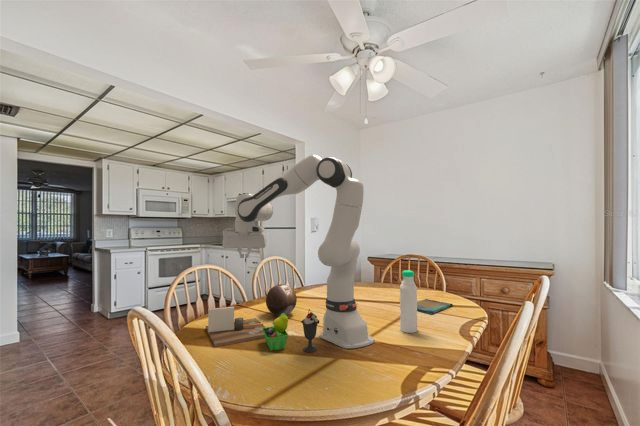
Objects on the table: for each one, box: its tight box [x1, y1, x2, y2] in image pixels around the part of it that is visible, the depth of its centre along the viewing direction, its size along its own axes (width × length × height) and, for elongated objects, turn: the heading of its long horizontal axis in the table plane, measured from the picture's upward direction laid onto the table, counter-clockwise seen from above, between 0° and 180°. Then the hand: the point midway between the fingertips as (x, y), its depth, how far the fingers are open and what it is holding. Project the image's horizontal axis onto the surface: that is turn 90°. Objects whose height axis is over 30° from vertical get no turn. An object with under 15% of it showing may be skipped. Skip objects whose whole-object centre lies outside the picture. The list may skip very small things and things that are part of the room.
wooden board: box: [205, 318, 266, 348], centre depth 127 cm, size 22×22×1 cm
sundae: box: [300, 308, 320, 353], centre depth 110 cm, size 7×7×15 cm
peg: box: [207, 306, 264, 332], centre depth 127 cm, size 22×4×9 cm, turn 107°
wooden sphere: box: [265, 283, 297, 317], centre depth 151 cm, size 15×15×15 cm
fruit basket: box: [263, 313, 289, 351], centre depth 115 cm, size 11×9×11 cm
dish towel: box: [417, 298, 454, 316], centre depth 164 cm, size 17×23×2 cm
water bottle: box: [399, 269, 419, 334], centre depth 129 cm, size 7×7×25 cm
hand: (244, 257), depth 144 cm, fingers closed
